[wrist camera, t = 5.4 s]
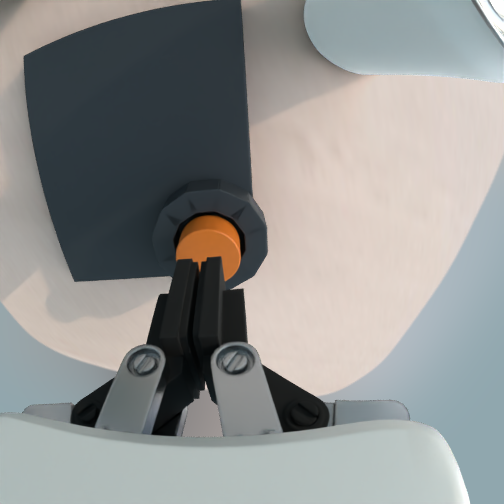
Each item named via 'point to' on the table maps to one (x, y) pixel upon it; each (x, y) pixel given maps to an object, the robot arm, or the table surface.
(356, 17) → the can
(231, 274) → the button
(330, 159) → the table surface
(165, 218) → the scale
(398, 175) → the table surface
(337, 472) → the robot arm
